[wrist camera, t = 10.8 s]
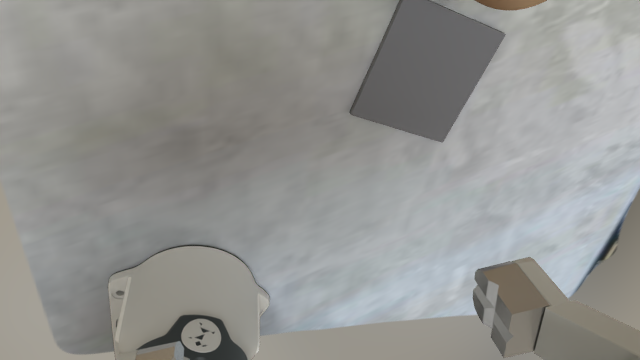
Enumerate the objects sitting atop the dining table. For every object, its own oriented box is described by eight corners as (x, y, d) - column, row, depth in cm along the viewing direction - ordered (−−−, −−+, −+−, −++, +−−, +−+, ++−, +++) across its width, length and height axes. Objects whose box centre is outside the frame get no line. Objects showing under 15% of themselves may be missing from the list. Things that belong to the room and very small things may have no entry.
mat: (440, 139, 47) (442, 142, 47) (349, 112, 43) (351, 114, 43) (502, 32, 41) (505, 34, 41) (404, -11, 38) (407, -9, 37)
